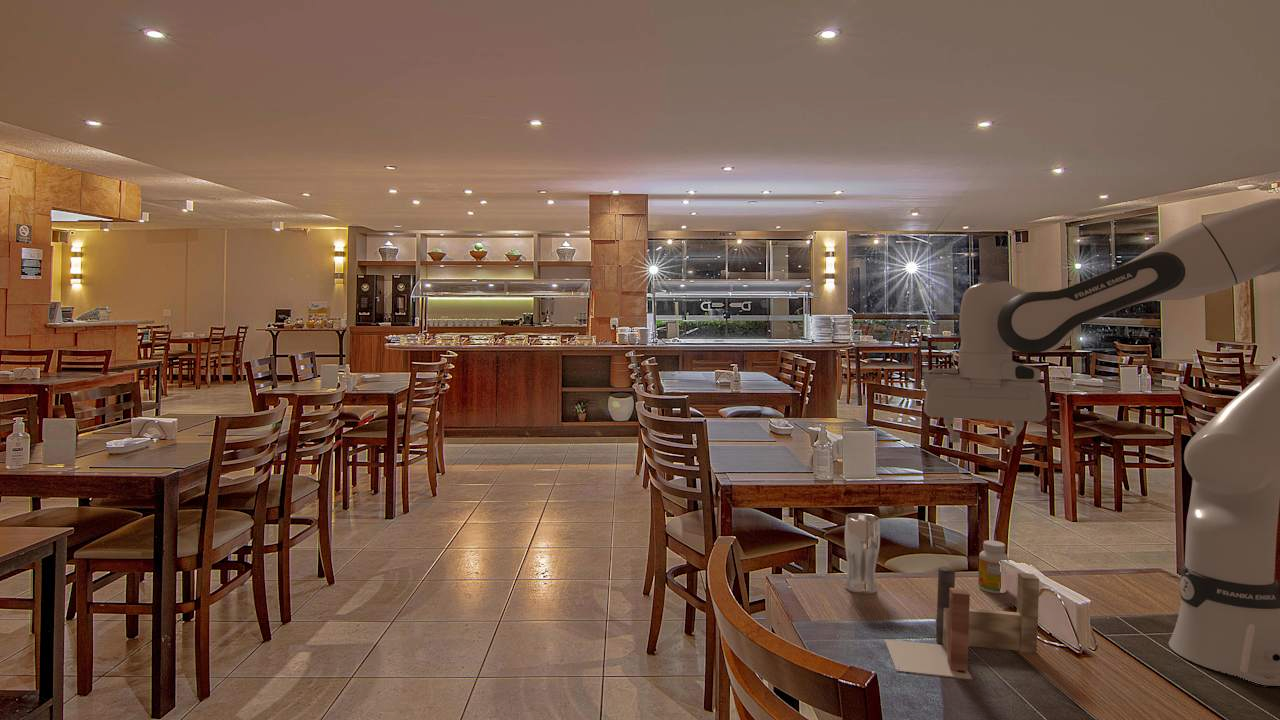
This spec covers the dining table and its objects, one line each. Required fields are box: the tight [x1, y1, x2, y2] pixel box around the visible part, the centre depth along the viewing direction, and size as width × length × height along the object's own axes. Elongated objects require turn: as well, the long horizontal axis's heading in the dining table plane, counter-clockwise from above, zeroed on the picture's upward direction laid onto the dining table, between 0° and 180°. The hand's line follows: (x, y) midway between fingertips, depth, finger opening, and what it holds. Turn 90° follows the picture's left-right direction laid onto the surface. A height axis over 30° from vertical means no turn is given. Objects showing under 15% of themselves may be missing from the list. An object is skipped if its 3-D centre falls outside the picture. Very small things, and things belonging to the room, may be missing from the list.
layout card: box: [884, 638, 973, 680], centre depth 109 cm, size 11×11×1 cm
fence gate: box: [943, 587, 971, 671], centre depth 108 cm, size 9×2×12 cm, turn 166°
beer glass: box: [844, 512, 881, 595], centre depth 138 cm, size 7×7×15 cm
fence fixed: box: [935, 566, 1040, 655], centre depth 113 cm, size 15×3×13 cm, turn 79°
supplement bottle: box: [977, 539, 1009, 594], centre depth 139 cm, size 5×5×10 cm
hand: (982, 443), depth 124 cm, fingers open, 8 cm apart
